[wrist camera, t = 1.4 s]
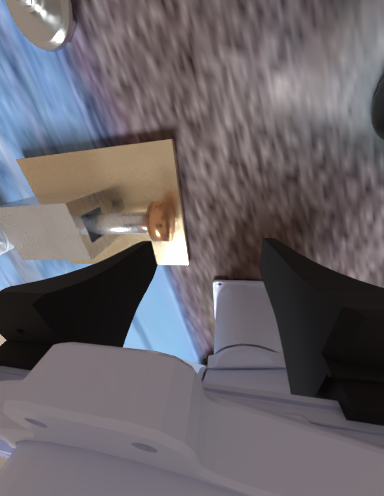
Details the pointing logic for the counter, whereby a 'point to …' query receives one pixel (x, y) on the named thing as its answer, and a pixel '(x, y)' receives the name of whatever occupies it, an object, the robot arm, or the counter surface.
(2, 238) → the white cup
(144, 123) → the counter surface
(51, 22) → the screw
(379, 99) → the supplement bottle
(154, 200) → the bearing block
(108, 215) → the shaft
